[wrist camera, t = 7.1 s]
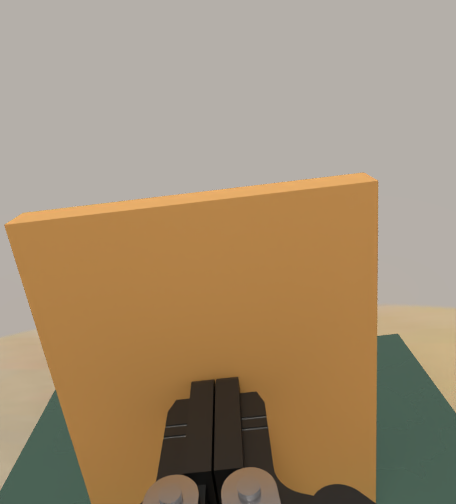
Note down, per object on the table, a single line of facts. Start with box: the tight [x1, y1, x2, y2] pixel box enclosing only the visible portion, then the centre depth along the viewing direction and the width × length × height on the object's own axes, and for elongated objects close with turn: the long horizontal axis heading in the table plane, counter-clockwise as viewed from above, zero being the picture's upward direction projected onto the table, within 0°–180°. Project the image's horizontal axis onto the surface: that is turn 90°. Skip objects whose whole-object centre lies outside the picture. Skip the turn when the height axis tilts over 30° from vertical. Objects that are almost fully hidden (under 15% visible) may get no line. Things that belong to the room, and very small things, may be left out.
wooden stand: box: [5, 173, 378, 504], centre depth 18 cm, size 10×10×12 cm
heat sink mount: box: [0, 334, 456, 504], centre depth 18 cm, size 20×14×11 cm
